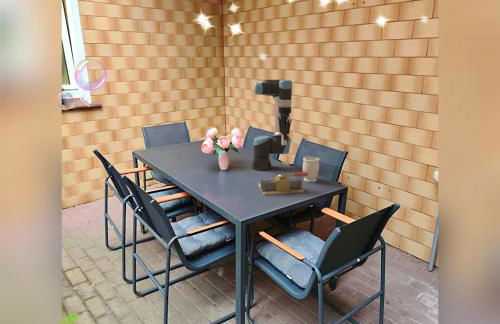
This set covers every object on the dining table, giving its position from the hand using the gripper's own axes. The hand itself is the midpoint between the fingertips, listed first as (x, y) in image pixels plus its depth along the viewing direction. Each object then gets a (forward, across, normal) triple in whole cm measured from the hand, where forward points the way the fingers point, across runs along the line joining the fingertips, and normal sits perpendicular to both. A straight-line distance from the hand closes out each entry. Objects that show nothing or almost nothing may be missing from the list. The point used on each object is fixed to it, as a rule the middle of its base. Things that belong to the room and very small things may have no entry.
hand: (284, 144), depth 217 cm
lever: (+18, +11, 0) cm, 21 cm away
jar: (+27, 0, +21) cm, 34 cm away
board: (+26, +5, -5) cm, 27 cm away
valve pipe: (+26, +9, -6) cm, 29 cm away
